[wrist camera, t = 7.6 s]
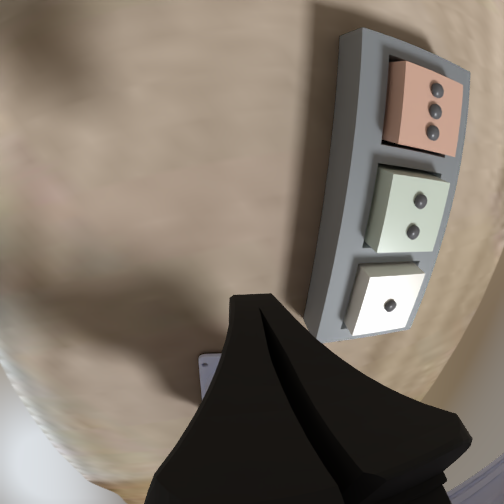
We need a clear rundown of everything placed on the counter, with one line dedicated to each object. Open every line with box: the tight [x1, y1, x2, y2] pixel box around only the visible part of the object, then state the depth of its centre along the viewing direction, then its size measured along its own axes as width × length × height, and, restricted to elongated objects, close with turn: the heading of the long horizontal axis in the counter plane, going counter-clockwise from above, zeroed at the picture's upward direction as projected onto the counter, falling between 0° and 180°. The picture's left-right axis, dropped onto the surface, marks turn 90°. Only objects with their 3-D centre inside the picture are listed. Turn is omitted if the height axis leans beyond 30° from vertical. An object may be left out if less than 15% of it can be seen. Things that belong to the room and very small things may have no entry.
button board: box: [303, 27, 470, 343], centre depth 19 cm, size 21×9×3 cm, turn 176°
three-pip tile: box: [382, 61, 463, 157], centre depth 15 cm, size 5×5×4 cm
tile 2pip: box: [364, 163, 450, 253], centre depth 18 cm, size 5×5×4 cm
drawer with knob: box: [343, 261, 425, 336], centre depth 21 cm, size 5×5×4 cm
